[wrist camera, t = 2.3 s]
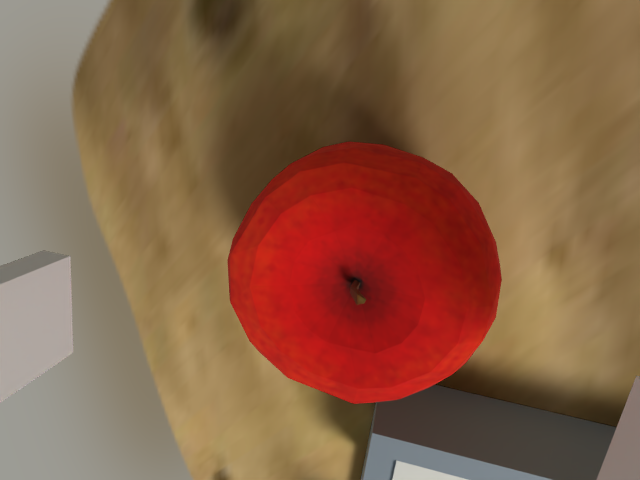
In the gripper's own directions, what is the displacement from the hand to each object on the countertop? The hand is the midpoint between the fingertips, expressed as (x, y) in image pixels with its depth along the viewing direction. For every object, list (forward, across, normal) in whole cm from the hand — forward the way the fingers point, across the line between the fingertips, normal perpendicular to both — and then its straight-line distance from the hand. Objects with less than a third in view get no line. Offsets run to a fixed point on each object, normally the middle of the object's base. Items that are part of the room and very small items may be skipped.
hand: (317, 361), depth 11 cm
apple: (+11, 0, 0) cm, 11 cm away
